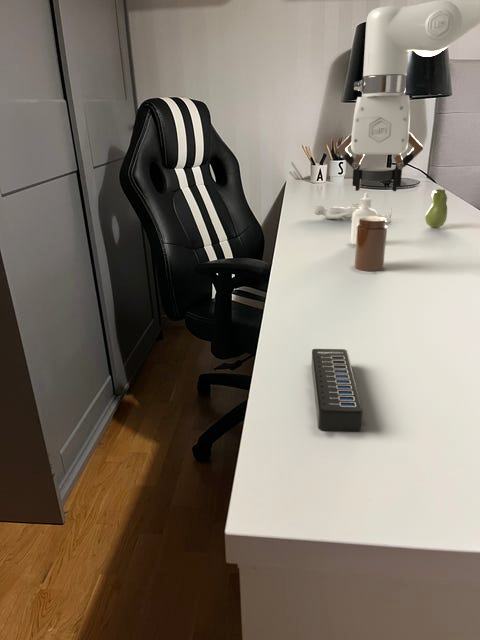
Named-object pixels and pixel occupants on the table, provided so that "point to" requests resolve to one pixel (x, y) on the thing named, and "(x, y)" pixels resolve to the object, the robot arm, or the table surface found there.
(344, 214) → the male figure
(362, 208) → the eye dropper bottle
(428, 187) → the table surface
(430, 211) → the pear
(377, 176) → the lid
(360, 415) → the multiport hub
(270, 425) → the table surface
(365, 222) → the jar
